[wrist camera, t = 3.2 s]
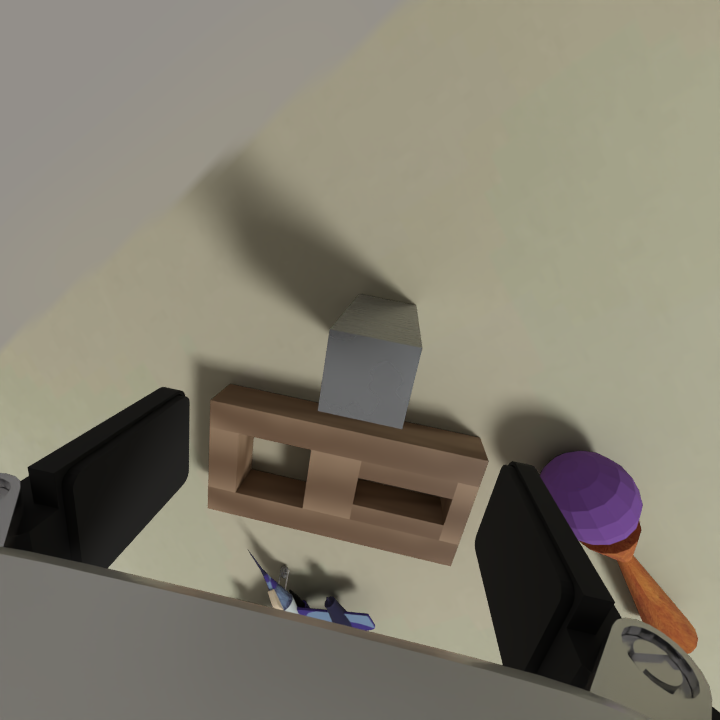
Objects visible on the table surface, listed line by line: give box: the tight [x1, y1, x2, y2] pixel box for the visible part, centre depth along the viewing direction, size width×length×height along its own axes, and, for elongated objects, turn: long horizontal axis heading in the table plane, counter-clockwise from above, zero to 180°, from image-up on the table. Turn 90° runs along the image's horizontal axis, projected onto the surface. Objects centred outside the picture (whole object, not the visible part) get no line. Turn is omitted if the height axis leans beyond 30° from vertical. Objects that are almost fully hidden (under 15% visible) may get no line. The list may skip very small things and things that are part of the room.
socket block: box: [208, 384, 489, 566], centre depth 28 cm, size 10×20×3 cm, turn 80°
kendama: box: [540, 451, 698, 654], centre depth 26 cm, size 6×6×20 cm
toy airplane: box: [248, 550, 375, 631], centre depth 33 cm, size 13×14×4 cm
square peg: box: [318, 294, 422, 429], centre depth 20 cm, size 4×4×10 cm
